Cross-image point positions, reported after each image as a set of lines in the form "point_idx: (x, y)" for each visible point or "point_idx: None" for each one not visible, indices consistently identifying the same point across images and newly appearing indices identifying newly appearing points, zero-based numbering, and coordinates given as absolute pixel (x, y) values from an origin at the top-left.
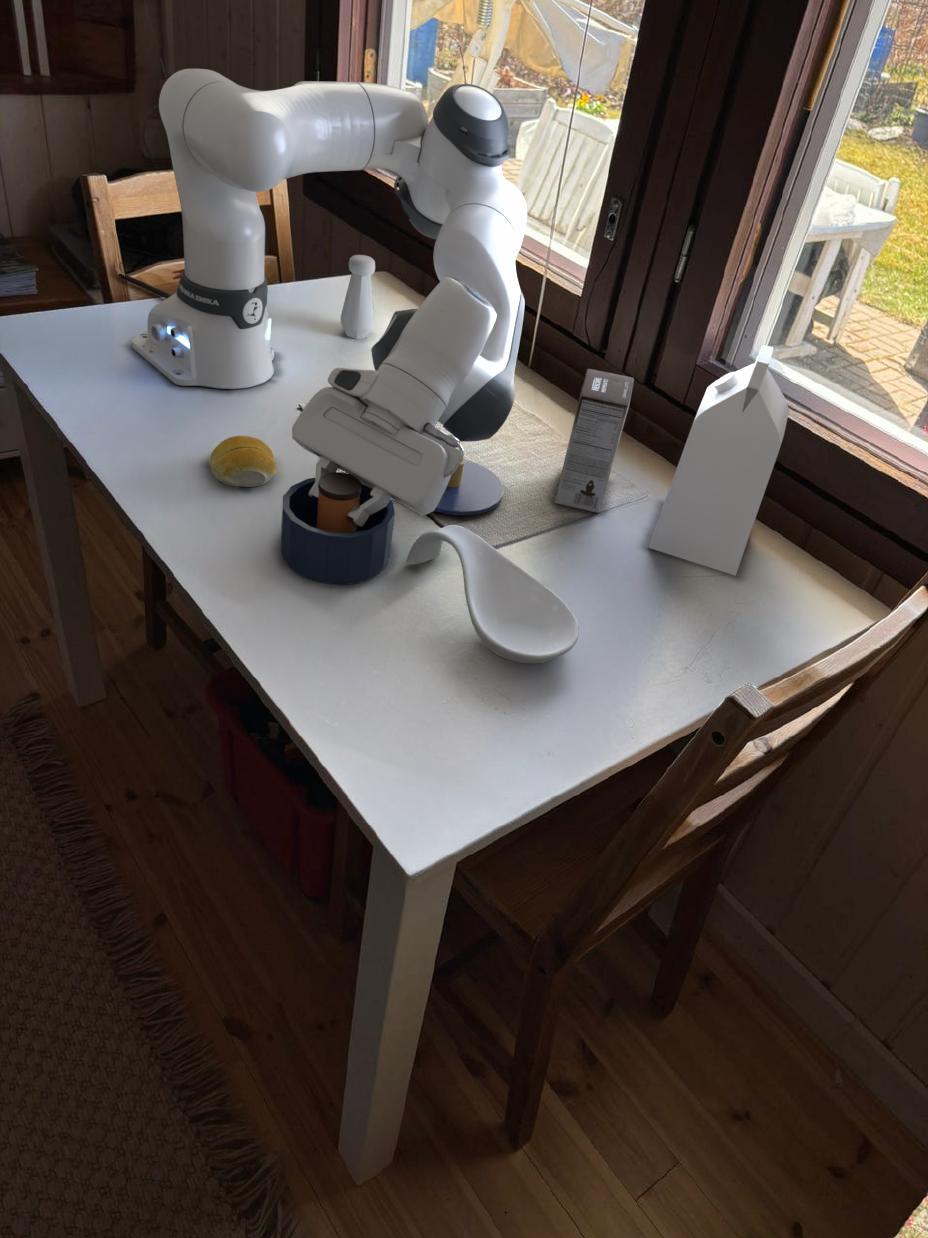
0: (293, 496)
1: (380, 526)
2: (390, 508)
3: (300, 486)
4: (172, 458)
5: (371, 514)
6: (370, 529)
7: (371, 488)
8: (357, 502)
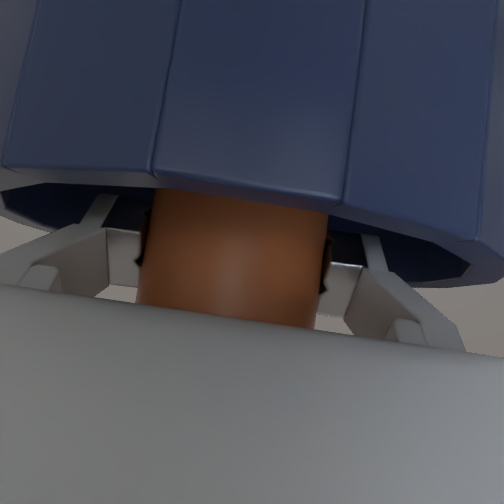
0: (73, 217)
1: (463, 282)
2: (474, 258)
3: (33, 221)
4: None
5: (394, 274)
6: (429, 285)
7: (240, 199)
8: (316, 307)
